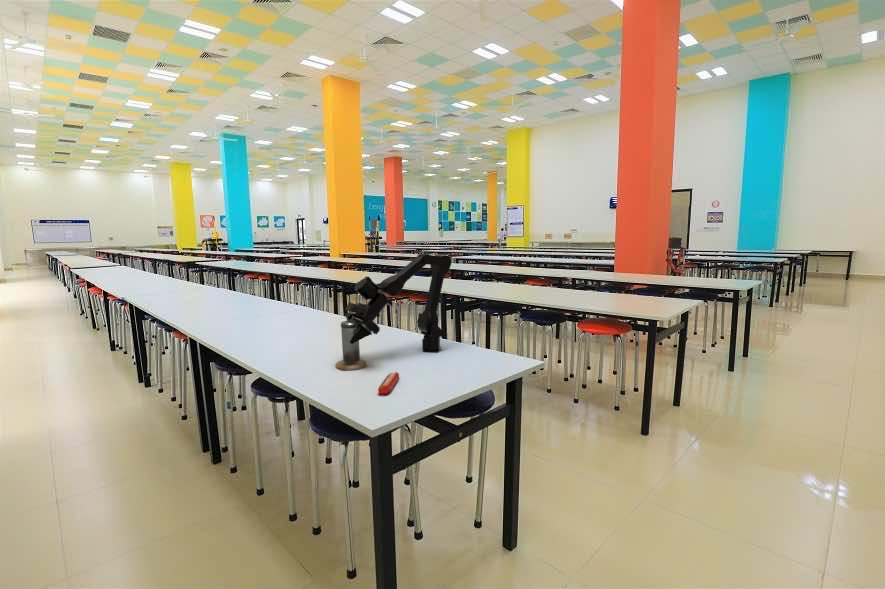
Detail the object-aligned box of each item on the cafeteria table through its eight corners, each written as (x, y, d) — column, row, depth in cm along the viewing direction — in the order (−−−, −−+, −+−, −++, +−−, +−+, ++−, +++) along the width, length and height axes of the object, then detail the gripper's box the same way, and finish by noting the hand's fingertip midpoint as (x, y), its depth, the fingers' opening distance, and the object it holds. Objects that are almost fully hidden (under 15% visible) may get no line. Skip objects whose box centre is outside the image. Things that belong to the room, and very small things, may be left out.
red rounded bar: (389, 378, 143) (389, 370, 142) (400, 379, 142) (400, 370, 142) (376, 397, 127) (376, 387, 126) (388, 397, 126) (388, 387, 126)
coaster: (370, 362, 160) (370, 359, 160) (360, 371, 149) (360, 368, 149) (343, 360, 162) (342, 358, 161) (330, 369, 151) (330, 367, 151)
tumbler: (363, 358, 156) (361, 321, 154) (352, 363, 151) (350, 324, 149) (350, 356, 159) (348, 319, 157) (339, 361, 154) (336, 323, 152)
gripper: (348, 290, 161) (321, 323, 157) (370, 296, 146) (341, 333, 142) (368, 309, 167) (343, 340, 162) (391, 316, 152) (364, 351, 147)
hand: (347, 341), depth 153 cm, fingers closed on tumbler, 6 cm apart
